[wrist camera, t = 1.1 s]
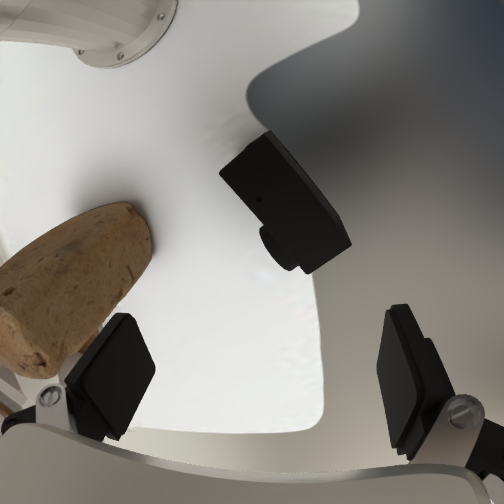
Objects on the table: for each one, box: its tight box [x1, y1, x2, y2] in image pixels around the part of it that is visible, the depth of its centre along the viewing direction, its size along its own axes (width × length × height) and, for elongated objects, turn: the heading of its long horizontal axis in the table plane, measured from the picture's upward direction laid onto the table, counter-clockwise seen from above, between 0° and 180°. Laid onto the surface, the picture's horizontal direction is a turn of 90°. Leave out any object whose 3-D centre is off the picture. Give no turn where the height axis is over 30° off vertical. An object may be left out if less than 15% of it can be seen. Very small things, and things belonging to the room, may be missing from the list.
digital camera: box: [219, 130, 352, 274], centre depth 24 cm, size 10×5×7 cm, turn 41°
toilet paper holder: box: [0, 325, 103, 430], centre depth 23 cm, size 11×11×35 cm
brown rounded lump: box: [0, 202, 152, 379], centre depth 22 cm, size 11×8×20 cm
